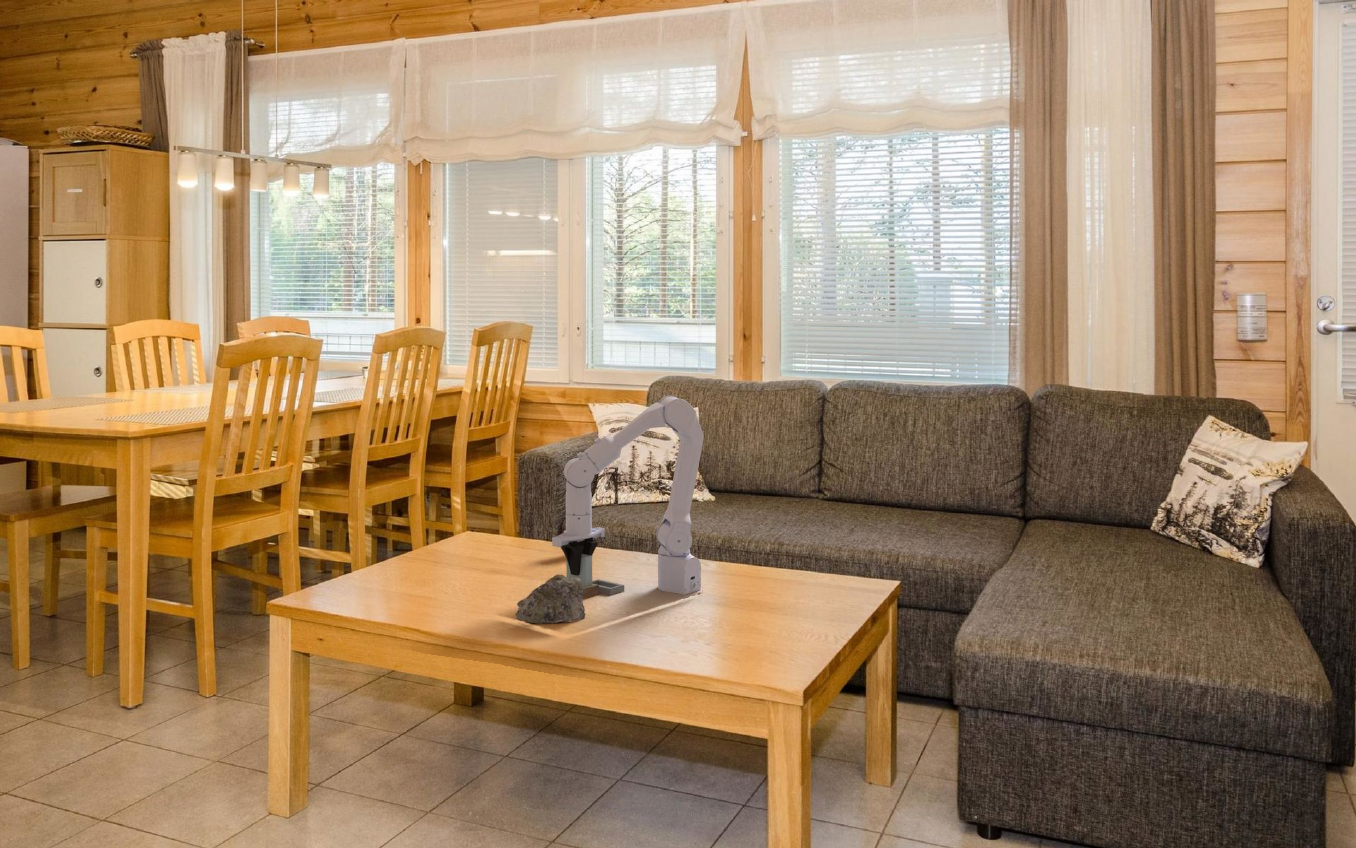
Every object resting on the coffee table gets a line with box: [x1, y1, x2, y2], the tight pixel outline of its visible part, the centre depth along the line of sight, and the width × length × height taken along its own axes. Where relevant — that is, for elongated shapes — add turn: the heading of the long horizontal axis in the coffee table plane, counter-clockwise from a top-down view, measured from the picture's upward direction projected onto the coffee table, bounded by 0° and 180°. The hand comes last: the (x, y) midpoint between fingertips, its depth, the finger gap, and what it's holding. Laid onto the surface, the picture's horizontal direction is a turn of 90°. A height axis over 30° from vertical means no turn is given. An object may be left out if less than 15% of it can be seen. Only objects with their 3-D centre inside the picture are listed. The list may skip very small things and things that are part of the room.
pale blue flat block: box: [565, 554, 593, 588], centre depth 240 cm, size 6×2×7 cm, turn 50°
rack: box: [582, 584, 600, 600], centre depth 239 cm, size 8×7×3 cm
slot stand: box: [592, 578, 625, 596], centre depth 243 cm, size 8×5×2 cm, turn 51°
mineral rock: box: [515, 573, 586, 625], centre depth 221 cm, size 13×11×10 cm
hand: (579, 573), depth 240 cm, fingers closed on pale blue flat block, 2 cm apart
